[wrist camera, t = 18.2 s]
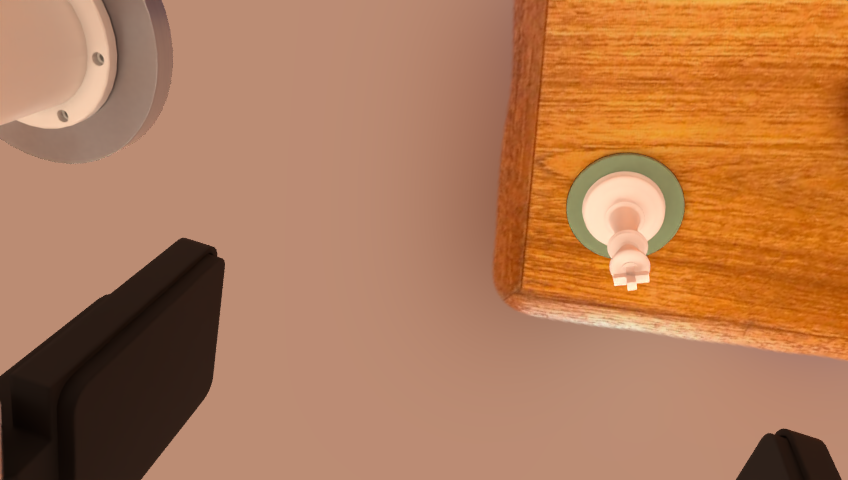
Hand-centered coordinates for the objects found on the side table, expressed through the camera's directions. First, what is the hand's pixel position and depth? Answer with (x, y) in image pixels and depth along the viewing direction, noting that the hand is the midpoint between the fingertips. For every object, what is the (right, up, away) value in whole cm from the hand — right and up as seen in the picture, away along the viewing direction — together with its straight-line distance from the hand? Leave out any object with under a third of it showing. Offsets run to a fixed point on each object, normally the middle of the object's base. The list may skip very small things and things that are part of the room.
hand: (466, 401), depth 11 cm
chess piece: (+12, +5, +31) cm, 33 cm away
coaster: (+12, +5, +31) cm, 33 cm away
